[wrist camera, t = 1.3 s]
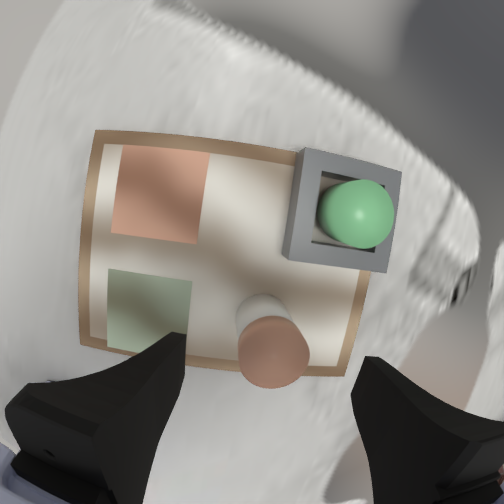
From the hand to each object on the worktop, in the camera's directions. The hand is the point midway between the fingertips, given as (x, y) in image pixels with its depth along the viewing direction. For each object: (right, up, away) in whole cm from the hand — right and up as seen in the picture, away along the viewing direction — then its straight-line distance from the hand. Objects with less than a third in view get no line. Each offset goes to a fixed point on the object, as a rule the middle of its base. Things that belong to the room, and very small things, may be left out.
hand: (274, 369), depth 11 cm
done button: (+5, +7, +8) cm, 12 cm away
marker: (0, 0, +10) cm, 10 cm away
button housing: (+5, +7, +10) cm, 13 cm away
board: (-3, +4, +10) cm, 11 cm away
